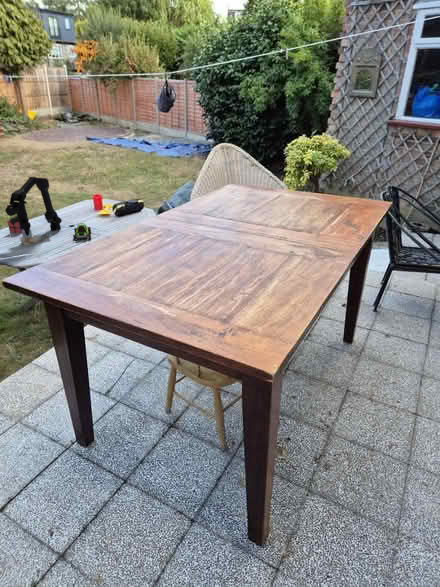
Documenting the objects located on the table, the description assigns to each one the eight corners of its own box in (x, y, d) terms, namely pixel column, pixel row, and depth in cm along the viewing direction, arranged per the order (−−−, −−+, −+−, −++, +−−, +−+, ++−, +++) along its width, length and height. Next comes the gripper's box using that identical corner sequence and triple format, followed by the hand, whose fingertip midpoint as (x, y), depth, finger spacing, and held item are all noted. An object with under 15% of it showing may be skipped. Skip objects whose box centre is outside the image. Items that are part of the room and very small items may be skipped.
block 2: (33, 240, 277) (32, 234, 275) (35, 243, 272) (33, 237, 269) (23, 242, 274) (21, 235, 272) (24, 245, 269) (22, 238, 266)
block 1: (31, 234, 274) (30, 228, 272) (32, 237, 270) (30, 230, 268) (22, 236, 272) (21, 229, 270) (23, 238, 267) (22, 232, 265)
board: (47, 234, 290) (47, 233, 289) (51, 242, 276) (50, 241, 275) (20, 239, 282) (20, 237, 282) (22, 247, 268) (22, 245, 268)
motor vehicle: (74, 241, 278) (71, 227, 273) (75, 233, 295) (72, 219, 290) (91, 240, 281) (88, 225, 276) (91, 231, 297) (89, 217, 292)
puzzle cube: (22, 234, 291) (18, 221, 286) (10, 233, 293) (6, 220, 288) (30, 230, 299) (27, 217, 295) (18, 229, 301) (15, 216, 297)
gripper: (7, 209, 266) (12, 232, 274) (9, 217, 252) (15, 240, 259) (25, 207, 271) (30, 229, 278) (28, 214, 257) (33, 237, 264)
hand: (27, 234), depth 270 cm, fingers open, 6 cm apart
